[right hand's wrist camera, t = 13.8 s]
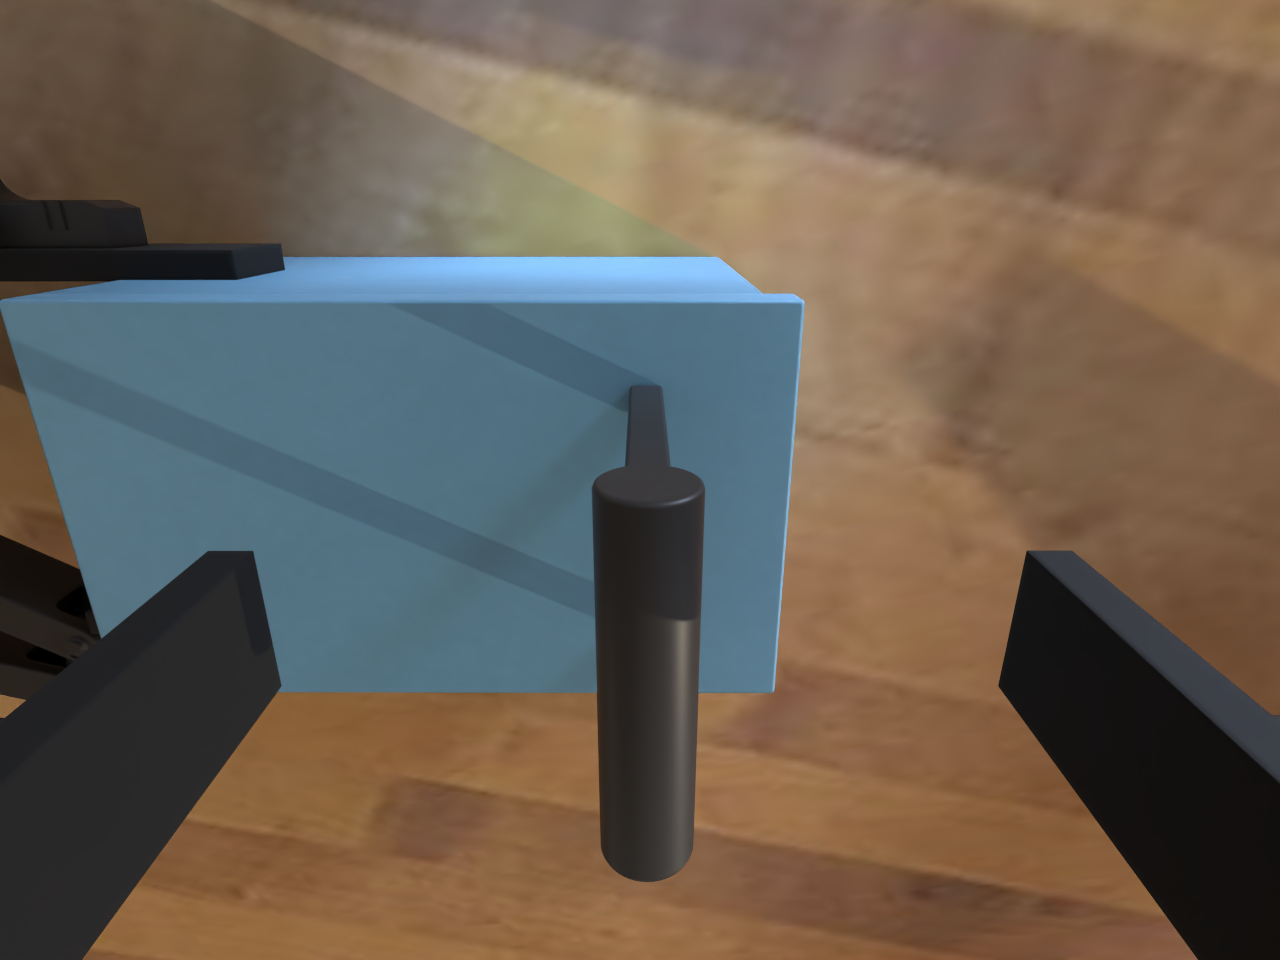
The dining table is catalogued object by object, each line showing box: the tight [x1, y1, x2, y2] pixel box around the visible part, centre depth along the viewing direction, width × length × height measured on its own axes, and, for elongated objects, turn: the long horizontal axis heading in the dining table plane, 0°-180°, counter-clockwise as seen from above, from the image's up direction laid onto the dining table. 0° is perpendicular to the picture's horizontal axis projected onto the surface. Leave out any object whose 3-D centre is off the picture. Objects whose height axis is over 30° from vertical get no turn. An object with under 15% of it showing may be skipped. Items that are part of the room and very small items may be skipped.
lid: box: [0, 294, 805, 882], centre depth 14 cm, size 17×10×8 cm, turn 90°
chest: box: [40, 257, 762, 294], centre depth 23 cm, size 16×10×10 cm, turn 90°
